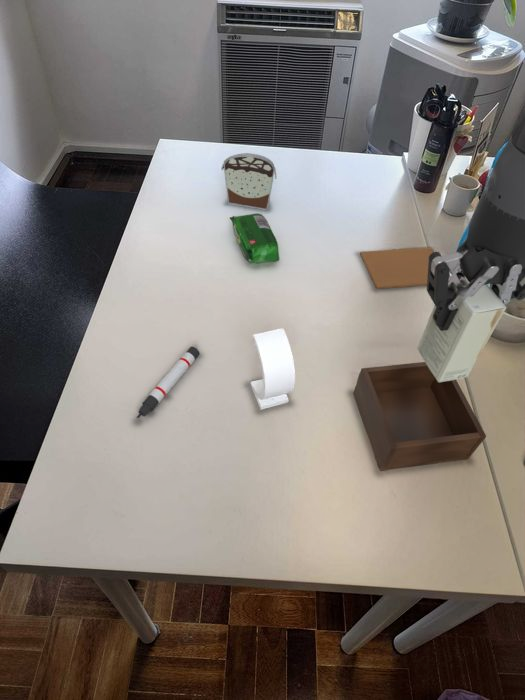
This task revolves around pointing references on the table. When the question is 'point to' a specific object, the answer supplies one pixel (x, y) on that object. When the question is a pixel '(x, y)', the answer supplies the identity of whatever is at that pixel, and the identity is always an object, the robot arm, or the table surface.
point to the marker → (168, 381)
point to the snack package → (255, 238)
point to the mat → (398, 267)
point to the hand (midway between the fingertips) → (460, 323)
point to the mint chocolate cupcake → (249, 180)
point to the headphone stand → (274, 368)
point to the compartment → (415, 416)
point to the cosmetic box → (461, 336)
